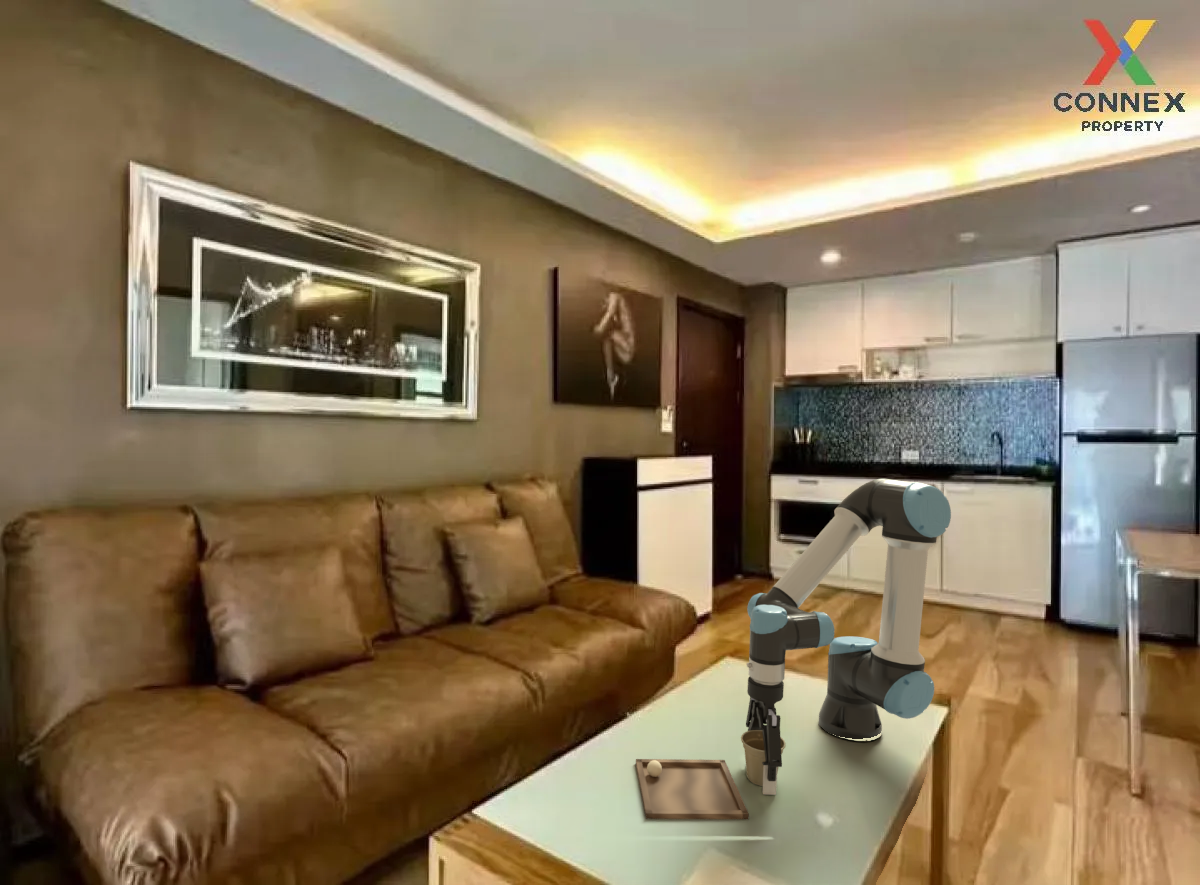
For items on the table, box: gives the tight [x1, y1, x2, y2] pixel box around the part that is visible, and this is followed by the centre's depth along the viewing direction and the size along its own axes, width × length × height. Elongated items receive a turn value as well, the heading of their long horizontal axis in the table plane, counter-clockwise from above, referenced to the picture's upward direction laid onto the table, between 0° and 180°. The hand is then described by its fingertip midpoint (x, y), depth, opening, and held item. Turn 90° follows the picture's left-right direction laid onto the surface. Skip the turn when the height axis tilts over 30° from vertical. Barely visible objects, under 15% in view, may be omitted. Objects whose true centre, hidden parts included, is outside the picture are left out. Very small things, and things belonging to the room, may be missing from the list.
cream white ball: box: [647, 760, 662, 777], centre depth 140 cm, size 3×3×3 cm
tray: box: [635, 758, 750, 820], centre depth 136 cm, size 20×20×2 cm
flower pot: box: [740, 730, 787, 787], centre depth 141 cm, size 9×9×9 cm
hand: (761, 778), depth 142 cm, fingers open, 11 cm apart
